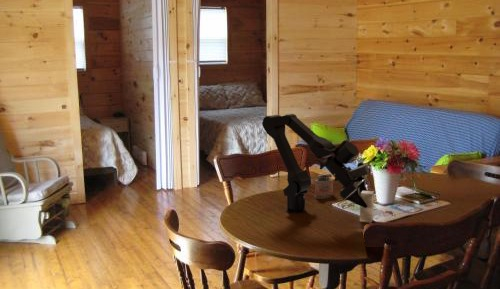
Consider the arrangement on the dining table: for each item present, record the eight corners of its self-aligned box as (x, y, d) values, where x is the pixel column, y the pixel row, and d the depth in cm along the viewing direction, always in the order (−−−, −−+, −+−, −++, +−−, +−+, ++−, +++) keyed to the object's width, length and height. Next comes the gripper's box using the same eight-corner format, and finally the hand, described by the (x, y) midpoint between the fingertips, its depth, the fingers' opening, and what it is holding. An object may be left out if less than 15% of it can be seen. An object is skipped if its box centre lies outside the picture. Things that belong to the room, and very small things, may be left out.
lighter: (316, 199, 222) (316, 175, 220) (313, 196, 225) (313, 173, 224) (334, 197, 224) (334, 174, 223) (330, 195, 228) (331, 172, 226)
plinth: (363, 216, 199) (364, 213, 199) (366, 211, 205) (366, 209, 205) (380, 217, 197) (380, 215, 197) (382, 213, 203) (382, 210, 203)
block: (359, 222, 190) (360, 193, 188) (361, 219, 194) (362, 190, 192) (370, 224, 189) (372, 194, 187) (372, 220, 192) (374, 191, 191)
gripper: (350, 161, 180) (382, 196, 178) (360, 151, 197) (389, 183, 195) (326, 181, 185) (357, 216, 183) (339, 170, 202) (367, 202, 200)
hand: (369, 203), depth 190 cm, fingers open, 9 cm apart
